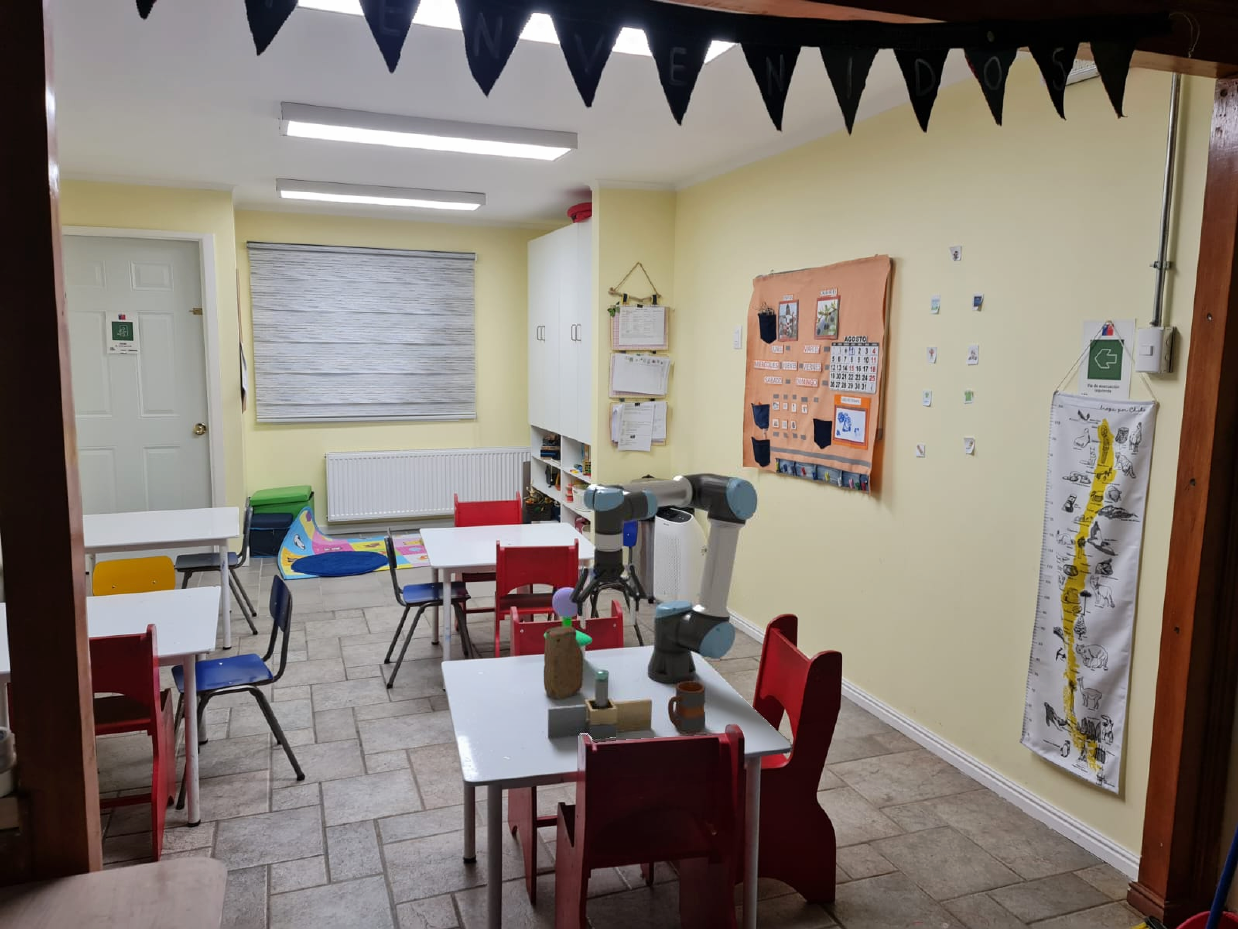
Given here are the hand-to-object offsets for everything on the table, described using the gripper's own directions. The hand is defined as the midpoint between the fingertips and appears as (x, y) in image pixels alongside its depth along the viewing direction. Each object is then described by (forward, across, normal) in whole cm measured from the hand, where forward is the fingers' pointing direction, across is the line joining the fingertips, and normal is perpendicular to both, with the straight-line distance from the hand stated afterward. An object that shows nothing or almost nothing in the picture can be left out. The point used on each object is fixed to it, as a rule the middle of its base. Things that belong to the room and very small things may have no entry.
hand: (607, 625), depth 228 cm
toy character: (+29, +1, -47) cm, 56 cm away
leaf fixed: (+28, +8, +4) cm, 30 cm away
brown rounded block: (+29, +8, -23) cm, 38 cm away
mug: (+29, -20, +6) cm, 36 cm away
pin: (+28, +3, +4) cm, 29 cm away
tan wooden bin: (+28, -2, +4) cm, 29 cm away
